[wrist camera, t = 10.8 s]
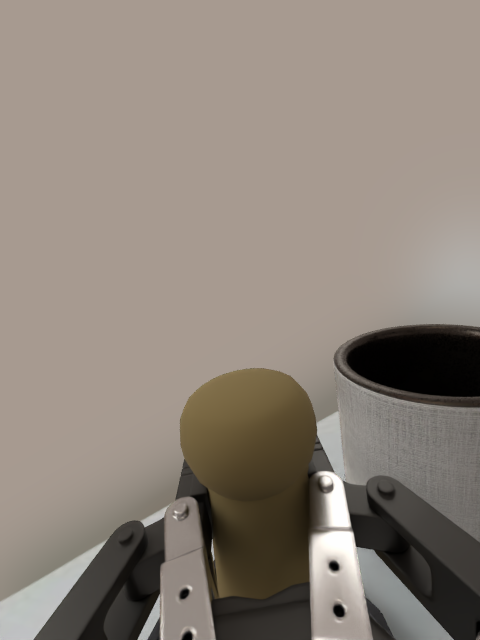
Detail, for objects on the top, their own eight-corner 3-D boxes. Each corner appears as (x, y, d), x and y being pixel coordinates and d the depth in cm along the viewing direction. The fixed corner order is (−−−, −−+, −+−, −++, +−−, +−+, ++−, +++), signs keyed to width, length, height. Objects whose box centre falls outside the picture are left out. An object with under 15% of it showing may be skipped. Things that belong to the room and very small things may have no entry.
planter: (380, 429, 39) (371, 319, 35) (558, 484, 27) (573, 328, 23) (318, 519, 28) (296, 375, 24) (565, 671, 17) (595, 441, 13)
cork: (196, 599, 14) (132, 398, 11) (279, 513, 17) (246, 345, 15) (292, 754, 9) (222, 470, 7) (379, 593, 13) (356, 367, 10)
